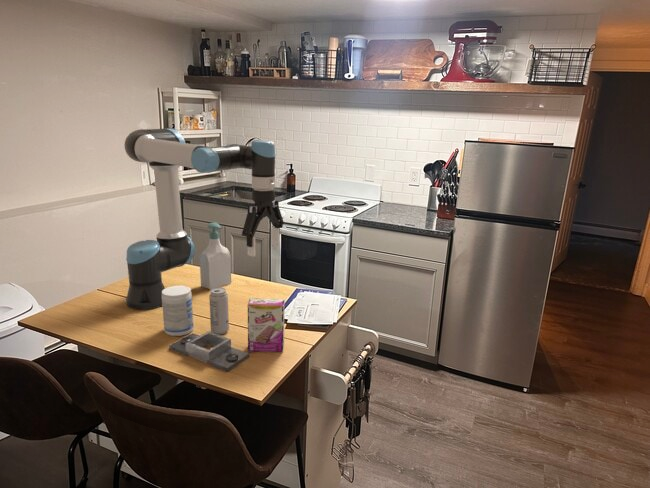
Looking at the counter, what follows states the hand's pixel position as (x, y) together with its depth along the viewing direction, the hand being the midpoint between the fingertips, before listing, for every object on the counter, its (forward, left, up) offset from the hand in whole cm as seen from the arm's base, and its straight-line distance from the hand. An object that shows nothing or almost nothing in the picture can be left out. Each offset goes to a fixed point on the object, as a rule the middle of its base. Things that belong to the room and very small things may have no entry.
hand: (264, 250), depth 159 cm
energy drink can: (-8, -14, -27) cm, 31 cm away
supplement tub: (-20, -21, -27) cm, 40 cm away
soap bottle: (-38, +17, -27) cm, 49 cm away
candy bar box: (+12, -15, -27) cm, 33 cm away
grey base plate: (-1, -27, -27) cm, 38 cm away
